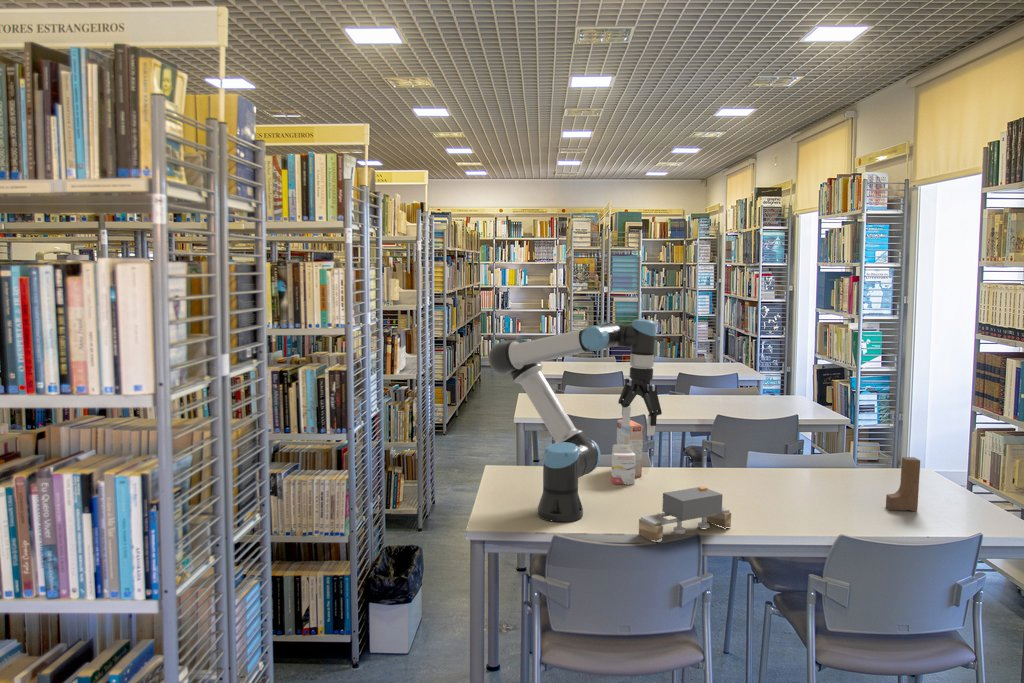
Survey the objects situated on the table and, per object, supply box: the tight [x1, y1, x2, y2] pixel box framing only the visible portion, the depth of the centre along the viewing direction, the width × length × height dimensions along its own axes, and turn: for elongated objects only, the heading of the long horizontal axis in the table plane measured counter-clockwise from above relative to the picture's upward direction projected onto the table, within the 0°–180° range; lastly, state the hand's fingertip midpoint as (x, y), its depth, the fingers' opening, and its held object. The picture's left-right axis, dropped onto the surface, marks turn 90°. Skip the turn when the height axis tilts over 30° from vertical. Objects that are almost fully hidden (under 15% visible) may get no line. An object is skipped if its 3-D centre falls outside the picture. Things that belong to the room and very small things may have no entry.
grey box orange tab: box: [661, 486, 723, 535], centre depth 236 cm, size 16×9×12 cm, turn 118°
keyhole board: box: [638, 506, 732, 541], centre depth 235 cm, size 30×8×6 cm, turn 118°
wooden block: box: [885, 456, 921, 512], centre depth 260 cm, size 9×4×18 cm, turn 86°
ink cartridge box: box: [610, 444, 636, 486], centre depth 289 cm, size 9×5×15 cm, turn 92°
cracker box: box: [616, 419, 644, 478], centre depth 303 cm, size 14×6×21 cm, turn 13°
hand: (637, 430), depth 248 cm, fingers open, 13 cm apart
